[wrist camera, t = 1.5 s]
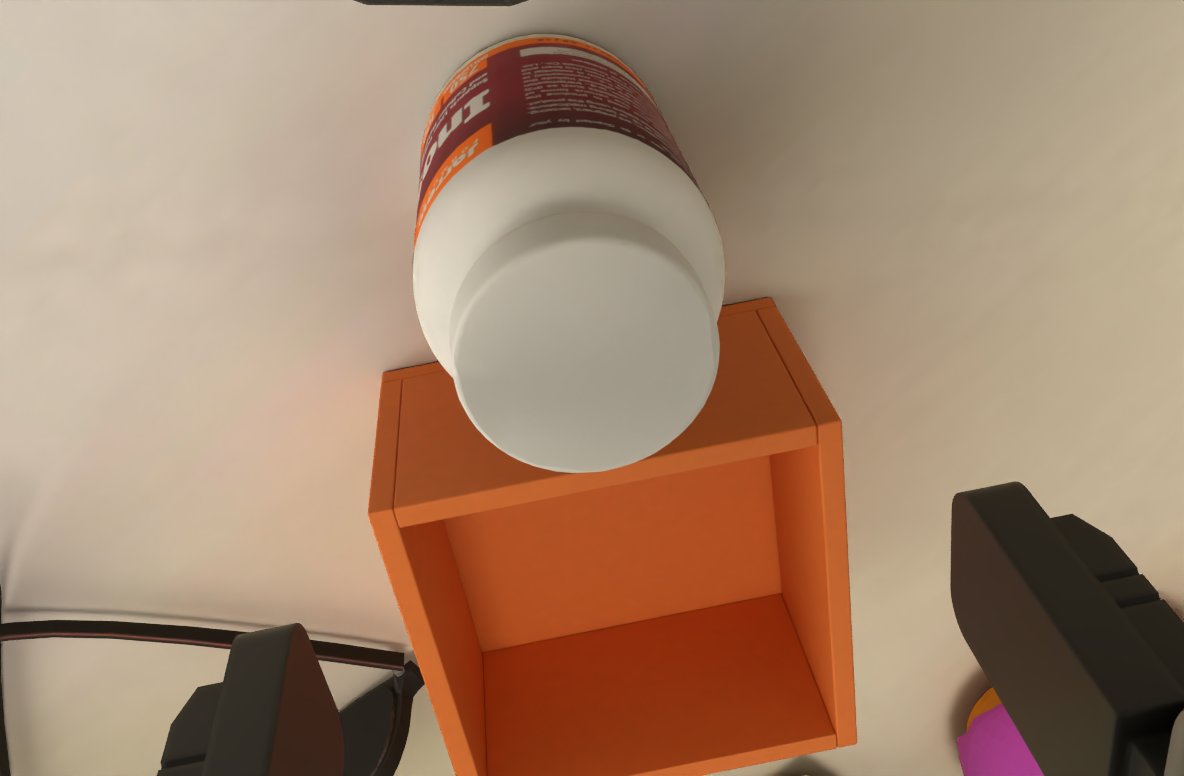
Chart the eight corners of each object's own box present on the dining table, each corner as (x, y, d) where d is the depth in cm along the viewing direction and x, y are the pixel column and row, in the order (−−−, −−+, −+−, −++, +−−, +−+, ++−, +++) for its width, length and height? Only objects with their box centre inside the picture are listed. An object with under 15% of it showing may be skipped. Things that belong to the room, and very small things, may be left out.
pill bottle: (435, 7, 26) (428, 161, 17) (685, 49, 27) (809, 216, 18) (407, 247, 29) (389, 492, 20) (634, 276, 30) (717, 521, 21)
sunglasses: (148, 379, 30) (99, 485, 26) (447, 683, 37) (447, 805, 33) (-287, 650, 33) (-395, 785, 29) (66, 883, 40) (21, 1019, 36)
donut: (1147, 552, 38) (1228, 646, 34) (1253, 699, 43) (1335, 797, 39) (896, 707, 40) (944, 811, 37) (1022, 830, 45) (1077, 934, 41)
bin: (771, 296, 31) (842, 420, 26) (795, 590, 37) (858, 744, 31) (381, 372, 31) (367, 514, 25) (467, 655, 37) (471, 822, 31)
